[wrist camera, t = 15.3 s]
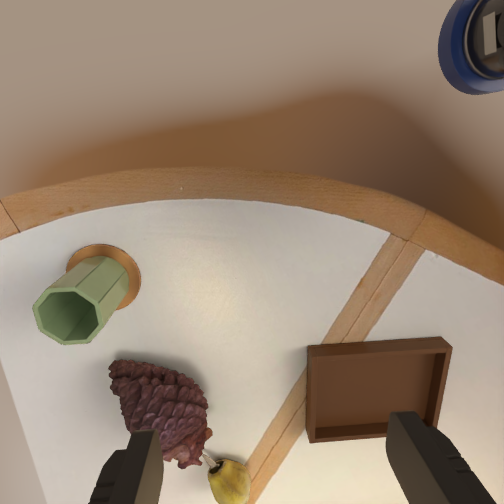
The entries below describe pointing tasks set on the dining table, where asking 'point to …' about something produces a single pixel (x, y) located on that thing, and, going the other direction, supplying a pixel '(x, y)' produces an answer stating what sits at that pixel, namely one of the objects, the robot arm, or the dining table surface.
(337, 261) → the dining table surface
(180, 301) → the dining table surface
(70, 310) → the cup
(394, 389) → the tray
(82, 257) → the coaster
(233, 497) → the fruit
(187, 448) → the pine cone
